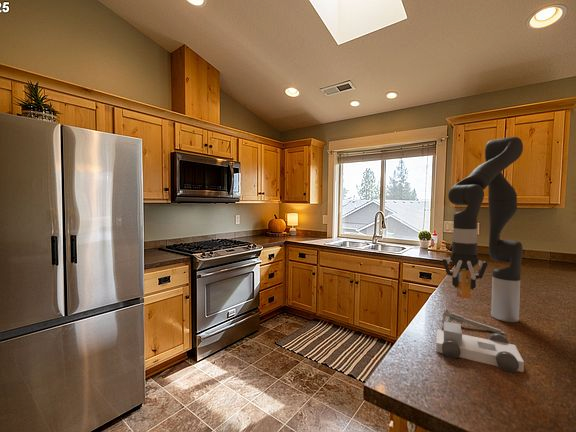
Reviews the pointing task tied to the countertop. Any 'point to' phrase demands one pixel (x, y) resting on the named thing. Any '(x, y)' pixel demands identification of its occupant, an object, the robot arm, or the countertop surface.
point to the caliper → (468, 321)
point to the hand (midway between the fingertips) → (463, 287)
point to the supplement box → (464, 283)
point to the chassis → (479, 348)
